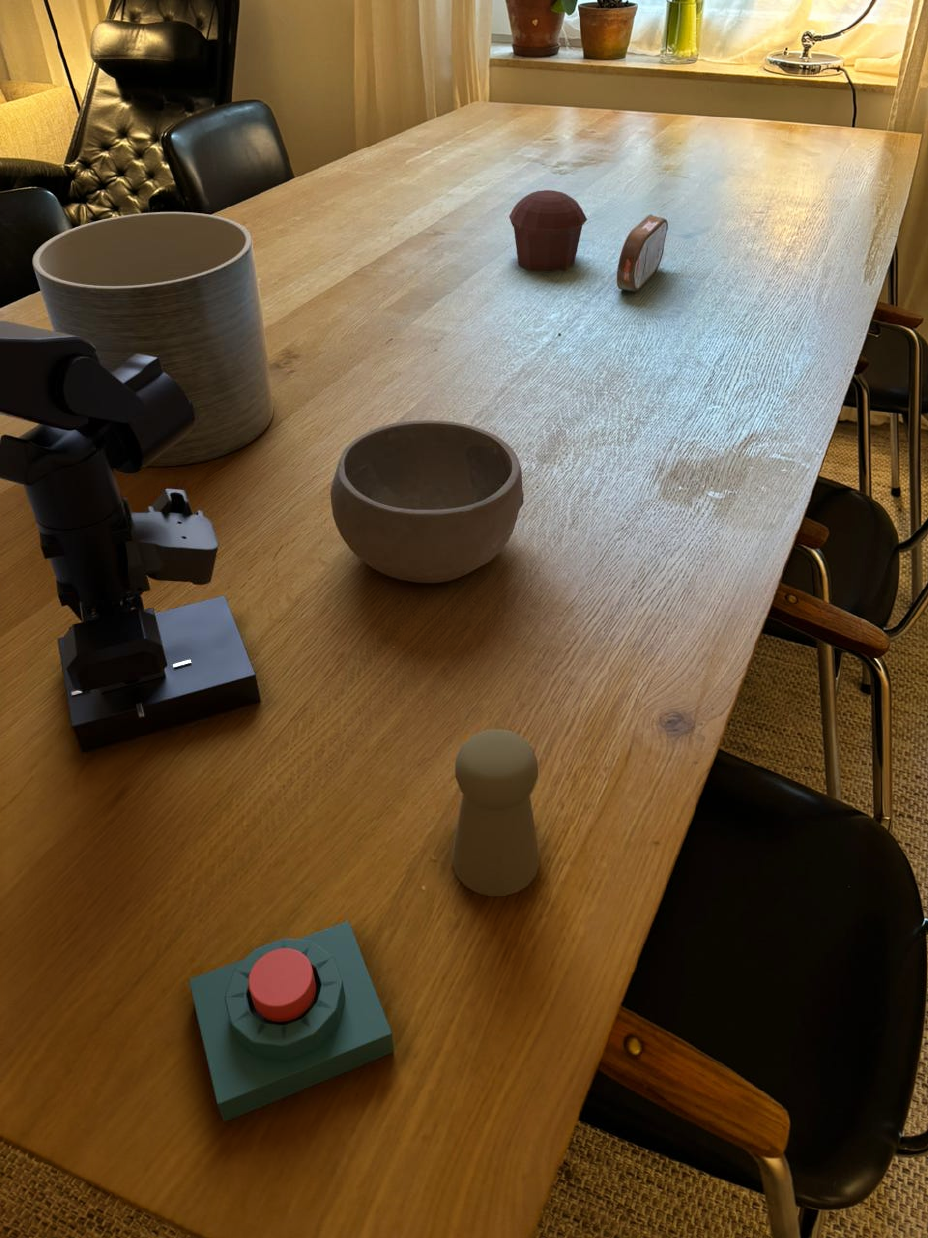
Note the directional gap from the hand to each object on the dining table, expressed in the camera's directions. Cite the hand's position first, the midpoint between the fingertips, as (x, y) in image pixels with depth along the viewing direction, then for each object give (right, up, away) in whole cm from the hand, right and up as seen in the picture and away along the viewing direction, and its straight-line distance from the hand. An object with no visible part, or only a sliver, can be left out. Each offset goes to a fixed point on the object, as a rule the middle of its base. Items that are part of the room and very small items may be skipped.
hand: (131, 673), depth 78 cm
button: (+16, -17, -21) cm, 31 cm away
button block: (+16, -20, -18) cm, 31 cm away
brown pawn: (+28, -12, -9) cm, 32 cm away
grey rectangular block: (0, 0, 0) cm, 0 cm away
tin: (+52, +54, +69) cm, 102 cm away
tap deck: (+1, -1, +4) cm, 5 cm away
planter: (-7, +27, +38) cm, 48 cm away
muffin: (+39, +59, +75) cm, 103 cm away
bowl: (+23, +11, +18) cm, 31 cm away
